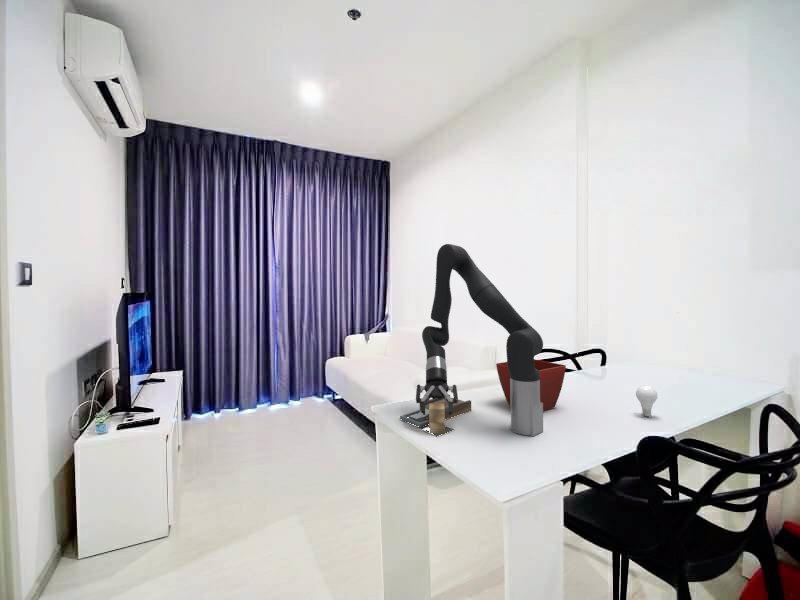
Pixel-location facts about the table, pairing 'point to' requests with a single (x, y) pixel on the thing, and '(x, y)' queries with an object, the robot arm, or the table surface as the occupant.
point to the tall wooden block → (437, 418)
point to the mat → (445, 431)
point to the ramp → (457, 408)
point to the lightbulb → (646, 399)
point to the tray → (420, 424)
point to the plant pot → (548, 381)
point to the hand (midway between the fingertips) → (437, 414)
